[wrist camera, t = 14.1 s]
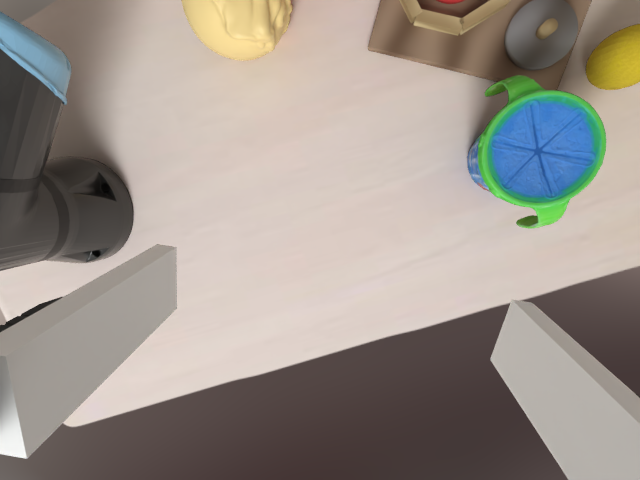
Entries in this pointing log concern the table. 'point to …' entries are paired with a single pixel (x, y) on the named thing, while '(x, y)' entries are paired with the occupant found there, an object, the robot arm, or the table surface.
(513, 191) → the snack cup
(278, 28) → the sculpture
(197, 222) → the table surface
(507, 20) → the board
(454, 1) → the canned food
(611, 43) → the lemon
